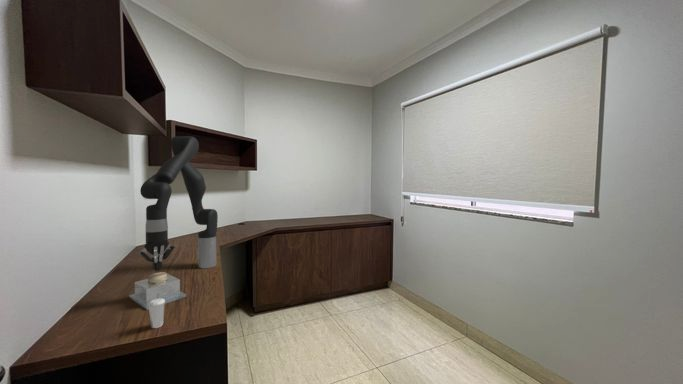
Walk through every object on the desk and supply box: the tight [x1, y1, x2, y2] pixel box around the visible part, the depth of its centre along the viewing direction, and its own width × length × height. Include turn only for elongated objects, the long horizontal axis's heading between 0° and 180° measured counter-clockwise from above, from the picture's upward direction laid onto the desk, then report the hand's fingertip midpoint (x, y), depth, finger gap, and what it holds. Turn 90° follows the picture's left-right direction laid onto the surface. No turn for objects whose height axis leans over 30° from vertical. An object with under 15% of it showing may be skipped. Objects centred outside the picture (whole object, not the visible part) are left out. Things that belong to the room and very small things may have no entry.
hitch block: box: [128, 273, 187, 311], centre depth 107 cm, size 18×14×7 cm
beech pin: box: [147, 271, 168, 284], centre depth 107 cm, size 6×6×8 cm
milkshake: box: [148, 293, 166, 329], centre depth 86 cm, size 4×5×10 cm
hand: (157, 270), depth 107 cm, fingers closed
